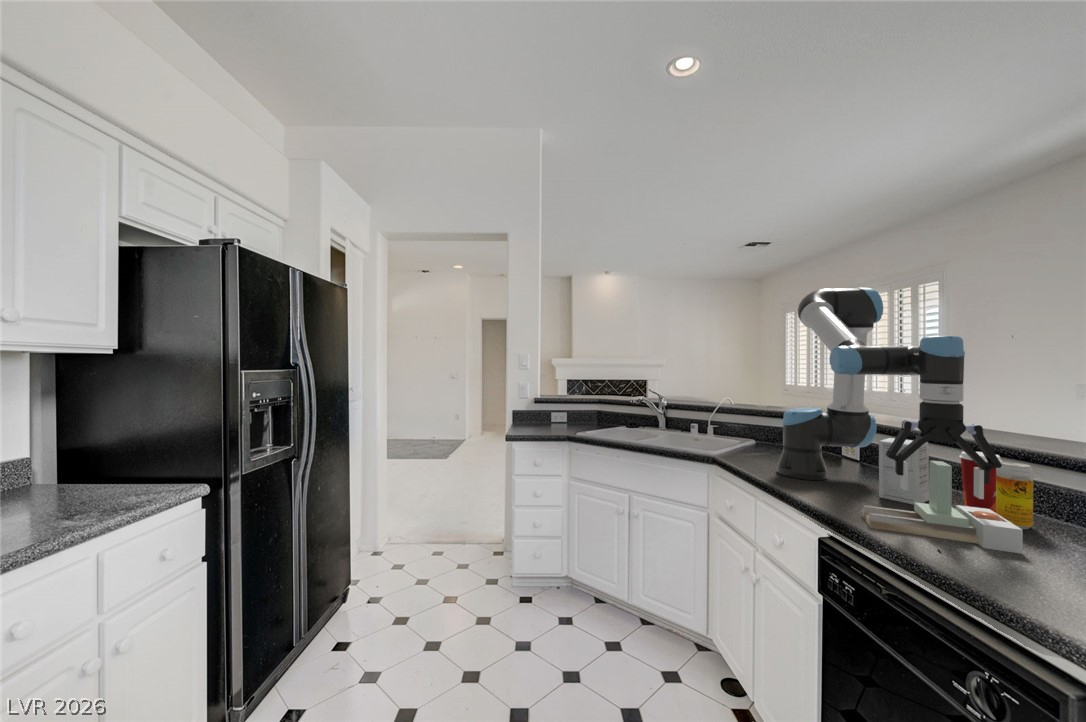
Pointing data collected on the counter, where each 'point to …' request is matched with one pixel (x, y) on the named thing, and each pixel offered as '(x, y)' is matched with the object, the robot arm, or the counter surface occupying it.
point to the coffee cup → (968, 484)
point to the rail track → (914, 524)
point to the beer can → (1015, 493)
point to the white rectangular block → (994, 531)
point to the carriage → (940, 498)
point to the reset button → (986, 515)
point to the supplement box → (916, 474)
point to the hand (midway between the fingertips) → (940, 493)
